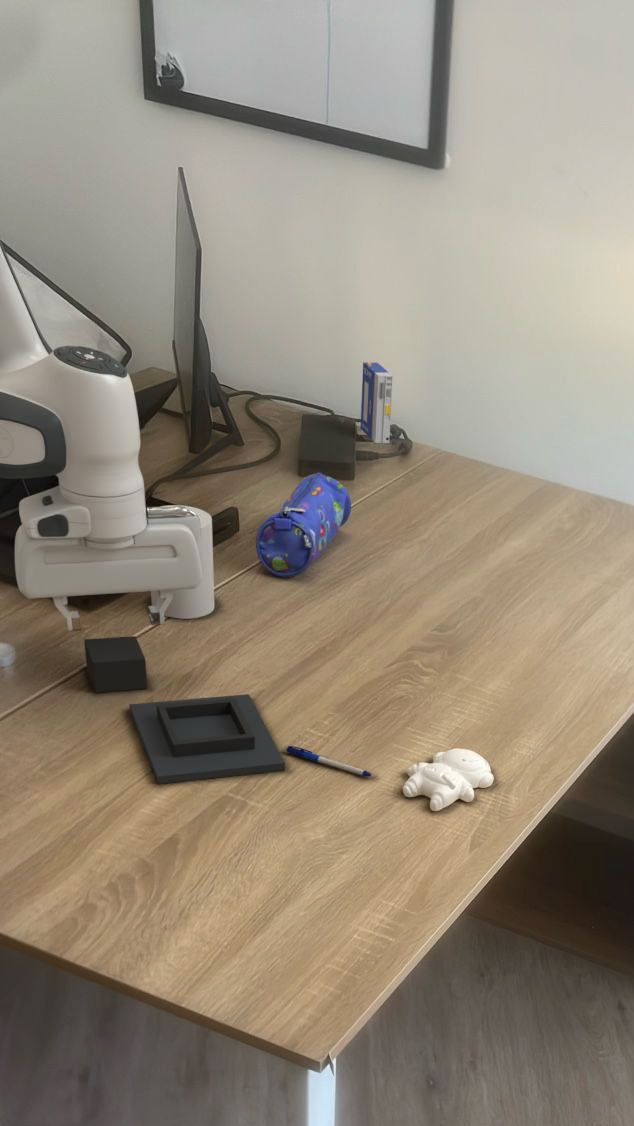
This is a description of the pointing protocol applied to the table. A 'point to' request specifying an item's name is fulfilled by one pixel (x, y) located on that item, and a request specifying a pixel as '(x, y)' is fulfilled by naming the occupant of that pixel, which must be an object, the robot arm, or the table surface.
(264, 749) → the socket base plate
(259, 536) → the pencil case
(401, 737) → the table surface
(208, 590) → the cup
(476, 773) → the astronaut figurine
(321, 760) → the ballpoint pen
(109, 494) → the robot arm
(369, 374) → the walkman
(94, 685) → the black box
